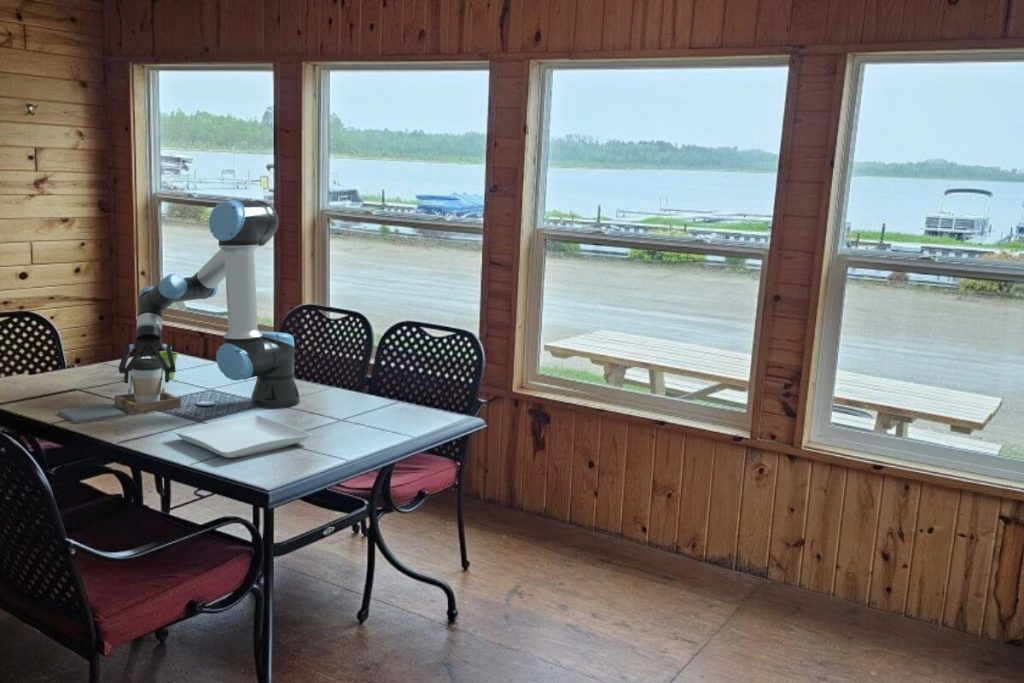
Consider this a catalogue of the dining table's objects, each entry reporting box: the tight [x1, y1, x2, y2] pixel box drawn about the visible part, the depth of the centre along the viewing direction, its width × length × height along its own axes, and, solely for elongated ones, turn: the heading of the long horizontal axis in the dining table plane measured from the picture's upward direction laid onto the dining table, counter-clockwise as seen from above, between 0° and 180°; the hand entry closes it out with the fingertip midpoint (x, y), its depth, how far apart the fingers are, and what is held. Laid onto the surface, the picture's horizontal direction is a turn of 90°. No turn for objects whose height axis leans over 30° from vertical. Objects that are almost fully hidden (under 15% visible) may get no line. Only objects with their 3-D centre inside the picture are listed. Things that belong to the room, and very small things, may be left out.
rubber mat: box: [57, 403, 126, 424], centre depth 270 cm, size 14×14×1 cm
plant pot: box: [150, 351, 179, 379], centre depth 320 cm, size 9×9×9 cm
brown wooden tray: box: [114, 389, 182, 415], centre depth 282 cm, size 14×14×3 cm
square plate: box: [172, 415, 312, 459], centre depth 250 cm, size 27×27×4 cm
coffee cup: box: [131, 358, 162, 404], centre depth 281 cm, size 9×9×15 cm
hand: (146, 390), depth 278 cm, fingers closed on coffee cup, 9 cm apart
